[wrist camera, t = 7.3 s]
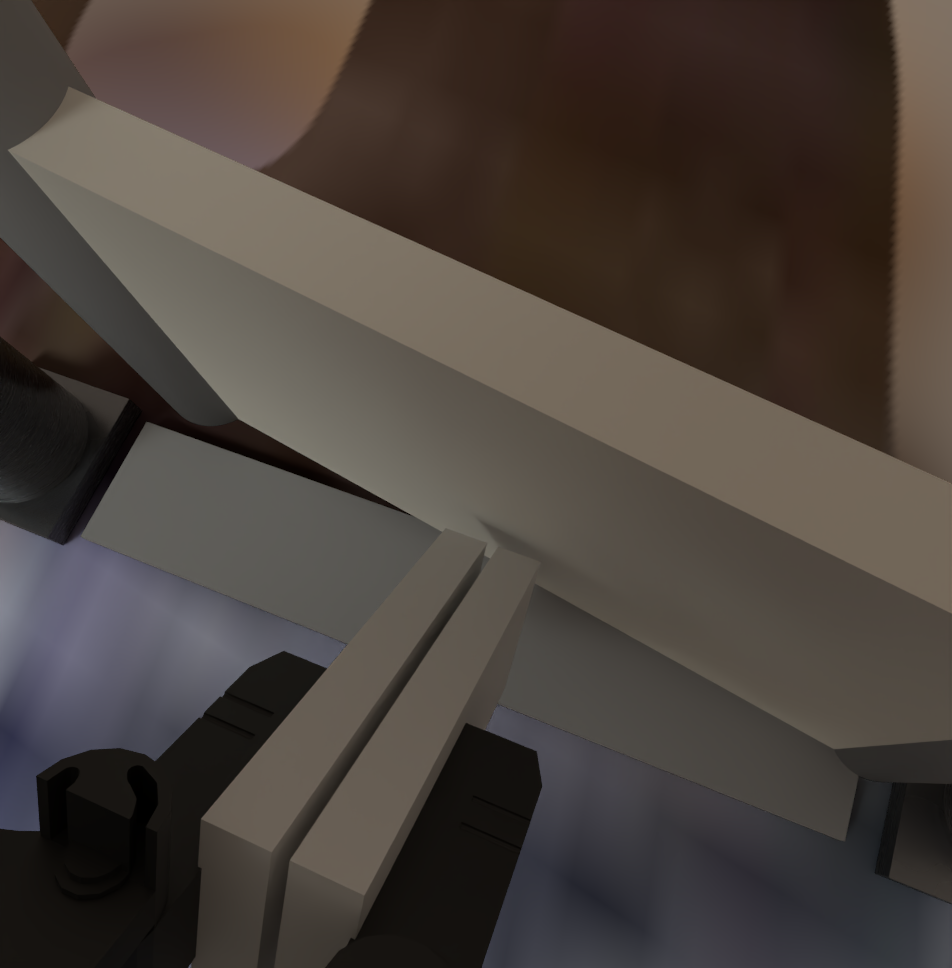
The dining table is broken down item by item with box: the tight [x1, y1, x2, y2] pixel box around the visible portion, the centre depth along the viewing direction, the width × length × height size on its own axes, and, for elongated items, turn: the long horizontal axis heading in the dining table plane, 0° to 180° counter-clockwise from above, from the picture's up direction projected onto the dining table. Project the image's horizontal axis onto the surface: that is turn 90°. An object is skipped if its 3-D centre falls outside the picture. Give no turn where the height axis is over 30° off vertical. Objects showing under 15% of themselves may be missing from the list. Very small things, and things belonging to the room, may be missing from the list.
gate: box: [0, 0, 952, 784], centre depth 11 cm, size 17×2×10 cm, turn 59°
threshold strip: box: [81, 422, 859, 842], centre depth 16 cm, size 17×3×1 cm, turn 69°
